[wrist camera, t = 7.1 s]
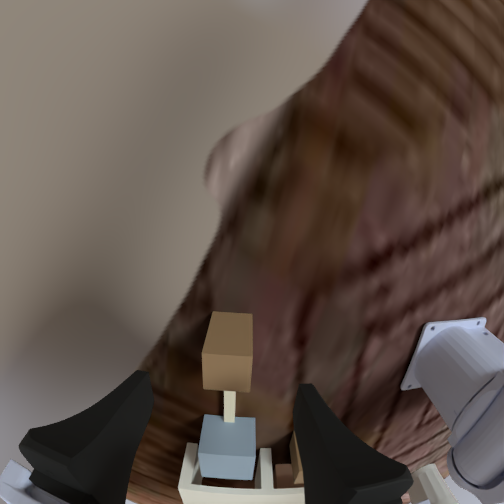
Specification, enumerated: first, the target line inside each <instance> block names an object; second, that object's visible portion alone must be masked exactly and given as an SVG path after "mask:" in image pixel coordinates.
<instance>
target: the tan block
mask: <svg viewBox="0 0 504 504" xmlns="http://www.w3.org/2000/svg"><path fill="white" fill-rule="evenodd" d="M289 447H290V456H291V464H275V468H274V472H273V488H274V489H285V488H302V487H304V481H303V470H302V464H301V459H300V455H299V450H298V445H297V441H296V436H295V431H293V434H292V438H291V441H290V445H289Z"/></svg>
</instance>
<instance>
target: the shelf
mask: <svg viewBox="0 0 504 504" xmlns="http://www.w3.org/2000/svg"><path fill="white" fill-rule="evenodd" d="M201 484H202V476H201V470H200V464H199V457H198V444H196V443H188V442H187V446H186V451H185V456H184V461H183V466H182V470H181V475H180V480H179V485H178V490H179V492H180V495H181V498H182V501H183V503H184V504H305V496H304V487H302V488H285V489H274V488H273V472H272V456H271V448H260V453H259V459H258V465H257V470H256V476H255V489H240V488H224V487H212V486H203V485H201Z"/></svg>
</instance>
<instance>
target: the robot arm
mask: <svg viewBox="0 0 504 504" xmlns="http://www.w3.org/2000/svg"><path fill="white" fill-rule="evenodd" d="M485 323H486V318H484V317H480V318H471V319H462V320H452V321H441V322H429V323H426V324H425V325H424V327H423V330H422V333H421V336H420V339H419V341H418V344H417V347H416V349H415V352H414V355H413V357H412V360H411V362H410V365H409V367H408V370H407V372H406V375H405V377H404V379H403V381H402V384H401V386H400V388H401V390H409V389H415V388H420V387H422V388H423V390H424V391H425V392H426V394H427V395H428V397H429V398H430V400H431V401H432V403H433V404H434V406H435V407H436V409H437V410H438V412H439V413H440V415H441V416H442V418H443V419H444V421H445V422H446V424H447V426H448V427H449V429H450V430H451V432H452V434H451V435H450V436H449V438H448V439H447V440H448V441H449V443H450V445H451V446H452V447H451V448H450V450H449V452H448V454H447V466H448V470H449V473H450V476H451V477H452V479H453V480H454V482H455V483H456V484H457V485H458V486H460V487H461V488H463V489H465V490H468V491H469V492H471V493H472V494H474V495H475V496H476V497H477V498H478V499H479V500H480V501H481V503H482V504H496V503H502V502H504V343H503V342H501V341H500V340H499V339H498V338H497V337H495V336H494V335H493V334H492V333H491V332H489V331H488V330H487V329H486V328H485V327H484V326H485ZM153 404H154V397H153V392H152V388H151V382H150V377H149V372H145V371H140V370H137V371H135V372H134V373H133V374H132V375H131V376H130V377H128V378H127V379H126V380H125V381H124V382H123V383H122V384H120V385H119V386H118V387H117V388H116V389H114V391H112V392H111V393H109V394H108V395H107V396H105V397H104V398H103V399H102V400H100V401H99V402H97V403H96V404H95V405H93V406H91V407H89V408H88V409H86V410H84V411H82V412H81V413H79V414H76V415H74V416H72V417H70V418H67V419H65V420H63V421H60V422H57V423H54V424H50V425H47V426H42V427H38V428H32V429H30V430H29V431H28V433H27V434H26V435H25V437H24V438H23V440H22V441H21V443H20V444H19V449H20V452H21V453H22V454H23V456H24V457H25V458H26V459H27V461H28V462H29V463H30V464H31V465H32V467H33V468H34V470H33V472H31V471H29V470H28V469H27V468H25V467H24V466H22V465H20V464H19V463H17V462H16V461H14V460H12V459H11V460H10V461H9V463H8V464H7V466H6V468H5V469H4V471H3V473H2V474H1V476H0V498H2V499H3V500H4V501H5V502H6V503H7V504H125V500H126V494H127V488H128V483H129V478H130V473H131V469H132V464H133V460H134V457H135V454H136V451H137V448H138V446H139V443H140V441H141V438H142V436H143V433H144V431H145V429H146V426H147V424H148V421H149V419H150V415H151V412H152V408H153ZM293 421H294V431H295V436H296V441H297V445H298V450H299V455H300V459H301V464H302V470H303V481H304V496H305V504H402V499H401V496H402V495H403V494H405V493H406V492H407V491H408V490H409V489H410V487H411V486H412V485H413V482H414V480H413V478H412V475H411V473H410V471H409V469H408V468H407V466H406V465H404V464H402V463H400V462H397V461H395V460H393V459H390V458H388V457H387V456H385V455H383V454H381V453H379V452H378V451H376V450H375V449H373V448H372V447H370V446H369V445H367V444H366V443H364V442H363V441H362V440H360V439H359V438H358V437H357V436H356V435H354V434H353V433H352V432H351V431H350V430H349V429H348V428H347V427H346V426H345V425H344V424H343V423H342V422H341V421H340V420H339V419H338V417H337V416H336V415H335V414H334V413H333V412H332V410H331V409H330V408H329V407H328V405H327V404H326V403H325V401H324V400H323V399H322V397H321V396H320V394H319V393H318V391H317V390H316V388H315V387H314V385H313V384H299V387H298V392H297V396H296V400H295V405H294V409H293ZM416 504H431V503H430V501H429V499H426V500H424V501H421V502H418V503H416Z"/></svg>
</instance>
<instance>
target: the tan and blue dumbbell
mask: <svg viewBox="0 0 504 504" xmlns="http://www.w3.org/2000/svg"><path fill="white" fill-rule="evenodd" d="M252 360H253V321H252V314H245V313H229V312H214V311H213V313H212V316H211V320H210V324H209V328H208V331H207V335H206V339H205V343H204V346H203V350H202V371H203V389H209V390H220V391H224V416H216V415H206V414H204V420H203V426H202V431H201V437H200V443H199V449H198V457H199V464H200V470H201V476H202V477H211V478H223V479H239V480H252V478H253V471H254V465H255V458H256V442H255V418H247V417H235V399H236V392H250V384H251V372H252Z"/></svg>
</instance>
